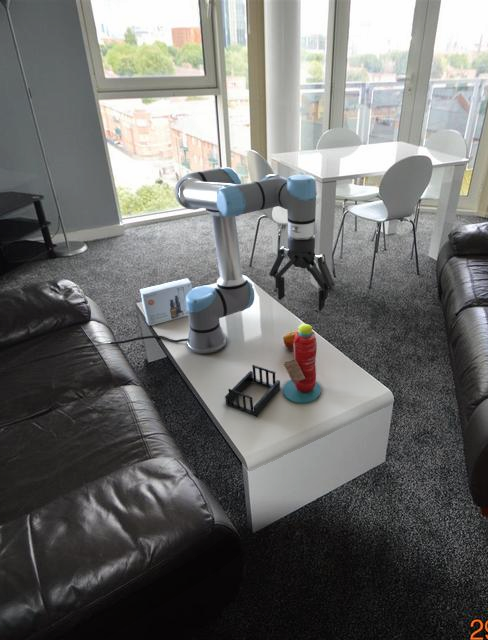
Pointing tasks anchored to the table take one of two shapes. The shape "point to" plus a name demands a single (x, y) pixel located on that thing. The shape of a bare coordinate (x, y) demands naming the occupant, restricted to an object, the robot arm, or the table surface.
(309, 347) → the water bottle
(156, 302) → the skincare box
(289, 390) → the mat
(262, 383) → the rack
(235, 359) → the table surface
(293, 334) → the fruit
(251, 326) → the table surface
